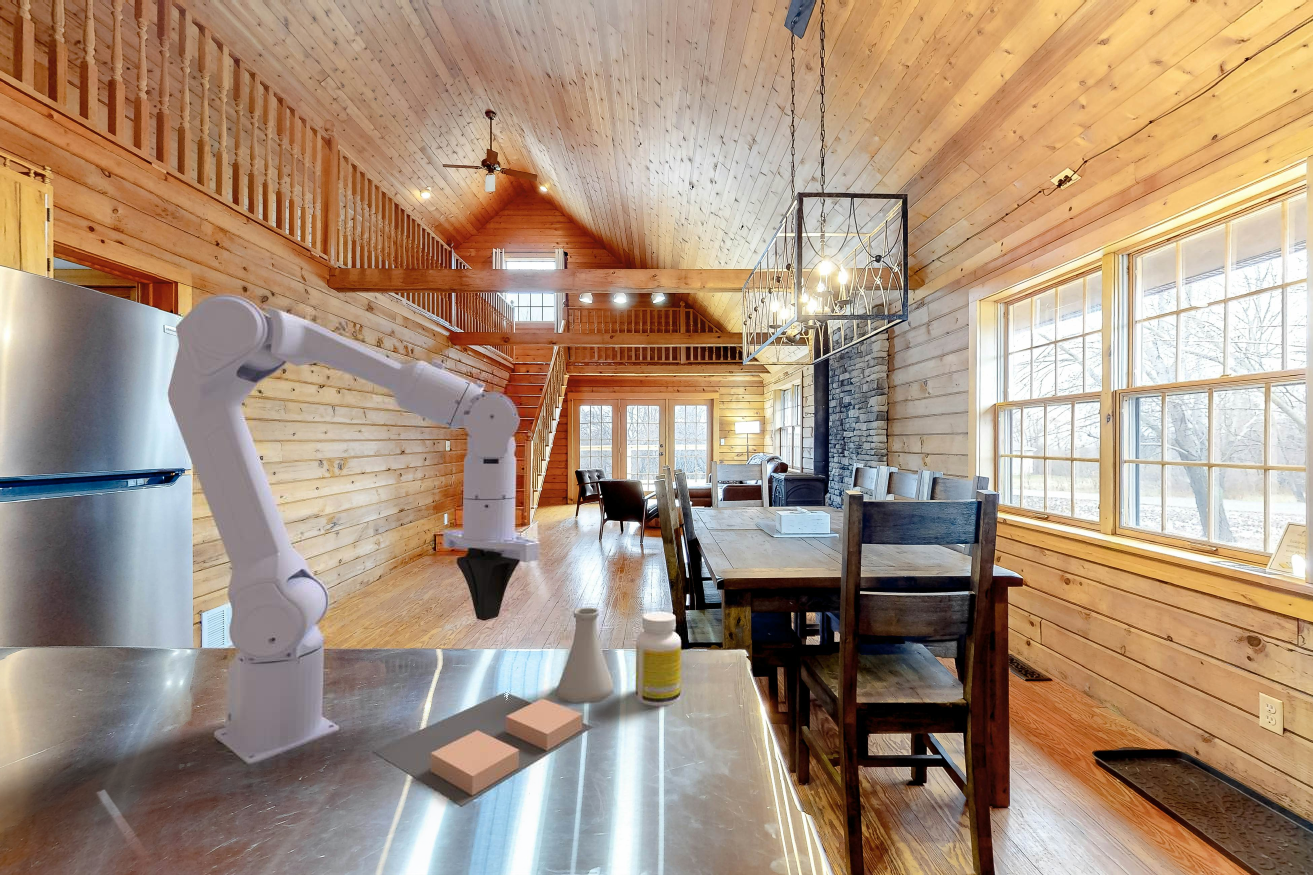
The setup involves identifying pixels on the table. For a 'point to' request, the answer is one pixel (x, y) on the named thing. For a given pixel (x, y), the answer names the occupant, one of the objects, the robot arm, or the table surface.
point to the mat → (483, 717)
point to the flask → (585, 663)
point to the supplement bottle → (658, 660)
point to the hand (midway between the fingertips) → (487, 617)
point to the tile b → (544, 723)
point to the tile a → (474, 761)
